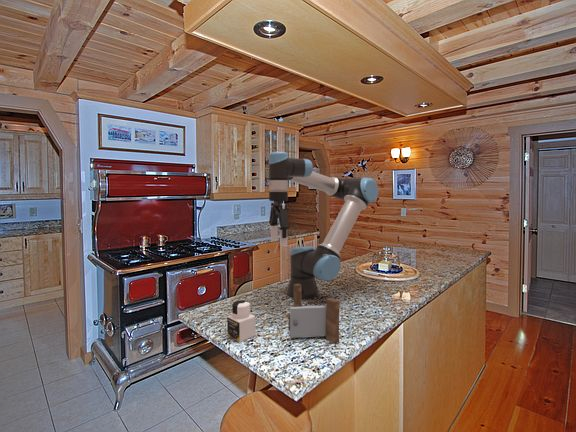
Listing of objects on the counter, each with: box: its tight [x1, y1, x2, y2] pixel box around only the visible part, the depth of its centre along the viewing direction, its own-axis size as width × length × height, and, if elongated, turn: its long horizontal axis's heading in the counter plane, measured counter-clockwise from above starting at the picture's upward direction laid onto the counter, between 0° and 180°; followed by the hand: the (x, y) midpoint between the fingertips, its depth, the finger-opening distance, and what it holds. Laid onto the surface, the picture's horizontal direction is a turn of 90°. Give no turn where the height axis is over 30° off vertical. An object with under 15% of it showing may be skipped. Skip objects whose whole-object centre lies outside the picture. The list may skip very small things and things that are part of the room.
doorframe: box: [293, 284, 340, 344], centre depth 116 cm, size 2×24×14 cm, turn 33°
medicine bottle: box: [226, 299, 257, 343], centre depth 111 cm, size 7×7×12 cm
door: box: [289, 303, 327, 339], centre depth 109 cm, size 3×13×11 cm, turn 96°
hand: (278, 243), depth 131 cm, fingers open, 13 cm apart
